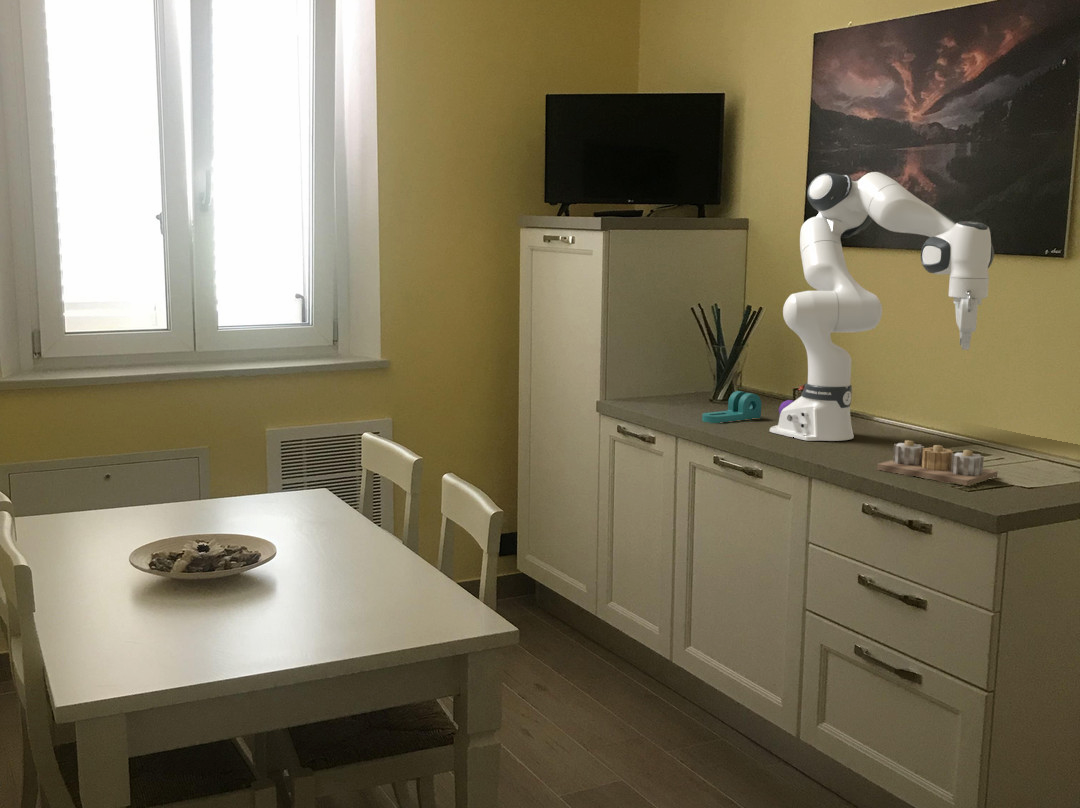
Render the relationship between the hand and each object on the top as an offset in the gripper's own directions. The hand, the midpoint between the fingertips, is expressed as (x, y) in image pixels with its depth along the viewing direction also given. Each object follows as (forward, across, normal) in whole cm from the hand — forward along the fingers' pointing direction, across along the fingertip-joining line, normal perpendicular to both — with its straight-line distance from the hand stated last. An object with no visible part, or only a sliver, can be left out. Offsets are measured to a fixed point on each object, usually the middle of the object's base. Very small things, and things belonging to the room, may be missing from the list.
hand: (964, 347), depth 269 cm
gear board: (+27, -21, +5) cm, 35 cm away
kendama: (+28, +44, +39) cm, 65 cm away
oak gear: (+26, -21, +5) cm, 34 cm away
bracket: (+28, +33, +61) cm, 74 cm away
